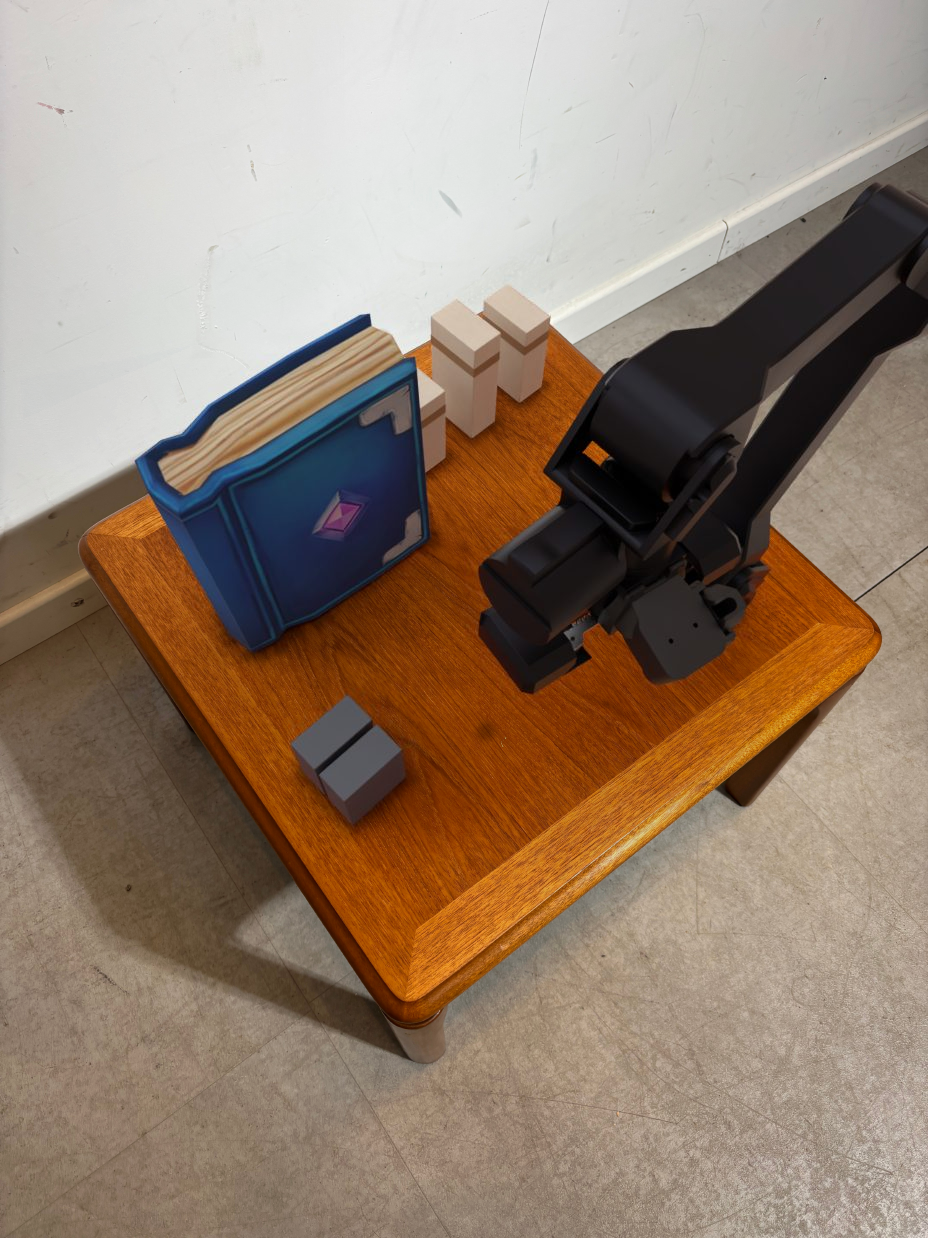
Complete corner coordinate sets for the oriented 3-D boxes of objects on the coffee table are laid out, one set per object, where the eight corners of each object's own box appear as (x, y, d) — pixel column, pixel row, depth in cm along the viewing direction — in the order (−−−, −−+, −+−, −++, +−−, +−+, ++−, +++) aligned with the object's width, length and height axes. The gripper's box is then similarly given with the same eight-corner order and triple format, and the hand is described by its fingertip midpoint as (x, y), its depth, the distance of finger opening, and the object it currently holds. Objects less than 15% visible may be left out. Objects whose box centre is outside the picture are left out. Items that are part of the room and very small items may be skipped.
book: (246, 671, 80) (168, 513, 58) (204, 616, 83) (114, 445, 61) (435, 542, 87) (429, 356, 65) (390, 495, 90) (371, 300, 67)
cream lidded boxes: (542, 386, 96) (551, 315, 87) (421, 476, 91) (418, 410, 82) (502, 355, 98) (507, 282, 89) (382, 441, 93) (374, 373, 84)
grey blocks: (355, 725, 78) (347, 694, 72) (406, 777, 76) (402, 749, 70) (302, 771, 76) (289, 743, 70) (352, 826, 74) (344, 802, 68)
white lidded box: (495, 421, 94) (501, 332, 83) (471, 439, 93) (474, 351, 82) (455, 388, 96) (456, 297, 85) (432, 405, 95) (429, 315, 84)
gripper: (590, 711, 50) (559, 793, 63) (833, 552, 55) (755, 660, 68) (476, 566, 54) (470, 673, 68) (712, 431, 59) (661, 556, 73)
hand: (594, 642), depth 69 cm, fingers open, 6 cm apart
